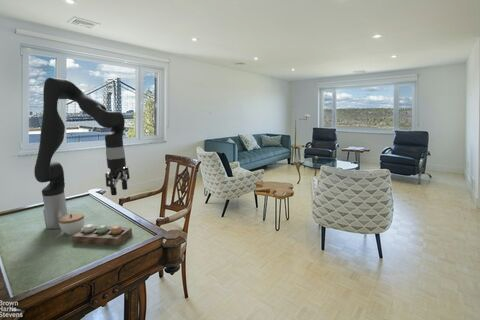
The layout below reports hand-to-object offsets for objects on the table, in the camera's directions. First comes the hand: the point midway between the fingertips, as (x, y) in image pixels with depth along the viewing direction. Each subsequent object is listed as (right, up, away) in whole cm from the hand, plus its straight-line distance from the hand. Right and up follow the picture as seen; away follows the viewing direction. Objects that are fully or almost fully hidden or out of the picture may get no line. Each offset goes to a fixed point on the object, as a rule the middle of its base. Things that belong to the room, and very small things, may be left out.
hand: (119, 192), depth 123 cm
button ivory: (-15, -18, +2) cm, 24 cm away
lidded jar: (-27, -21, +10) cm, 35 cm away
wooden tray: (-8, -21, +1) cm, 23 cm away
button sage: (-8, -18, +1) cm, 20 cm away
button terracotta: (-1, -18, 0) cm, 18 cm away
